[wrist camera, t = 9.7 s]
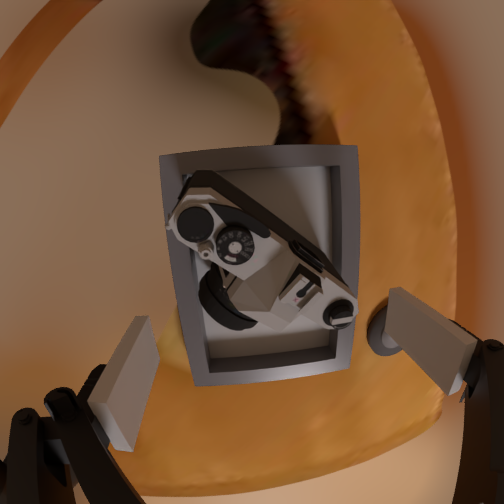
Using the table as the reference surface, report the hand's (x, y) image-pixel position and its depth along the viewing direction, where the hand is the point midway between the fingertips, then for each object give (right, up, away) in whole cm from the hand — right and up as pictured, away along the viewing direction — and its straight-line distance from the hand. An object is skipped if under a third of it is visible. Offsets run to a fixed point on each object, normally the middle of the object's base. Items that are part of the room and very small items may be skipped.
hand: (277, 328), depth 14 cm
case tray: (0, +3, +9) cm, 10 cm away
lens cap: (+13, -4, +12) cm, 18 cm away
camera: (-2, +4, +7) cm, 9 cm away
